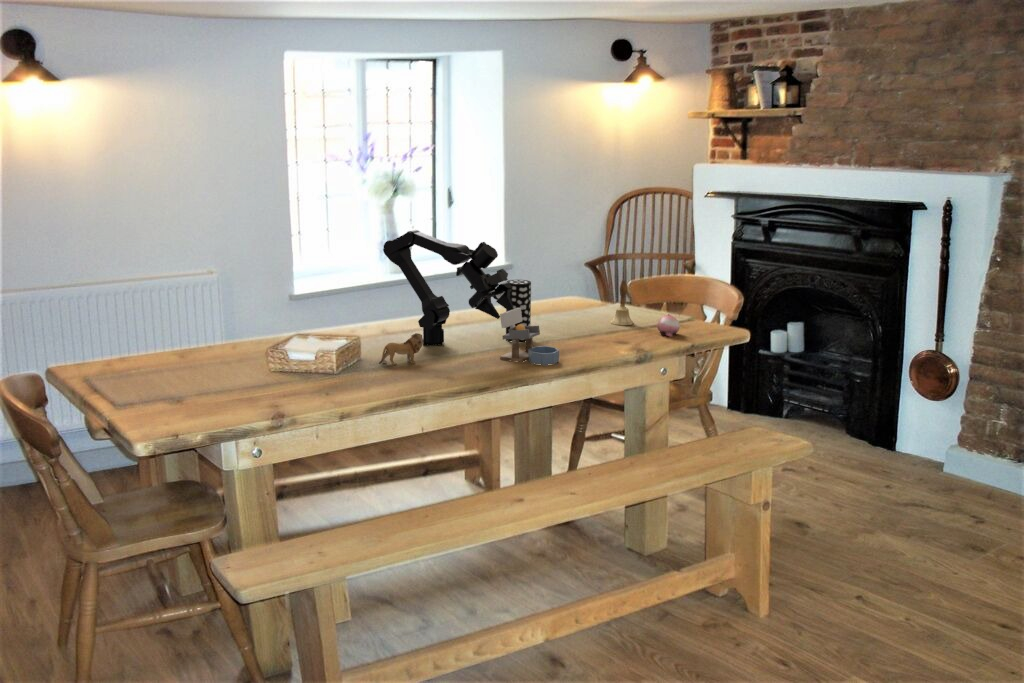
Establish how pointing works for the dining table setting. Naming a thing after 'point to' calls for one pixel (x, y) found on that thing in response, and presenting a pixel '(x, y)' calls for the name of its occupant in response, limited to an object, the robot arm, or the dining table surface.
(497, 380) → the dining table surface
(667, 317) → the piggy bank
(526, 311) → the white-spotted black cylinder
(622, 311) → the hand bell
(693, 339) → the dining table surface
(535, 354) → the blue bowl
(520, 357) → the stand
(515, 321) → the tipper
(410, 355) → the lion figurine
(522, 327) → the ball
